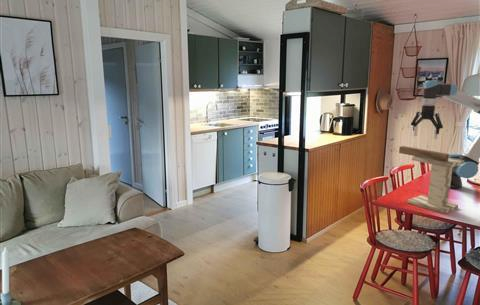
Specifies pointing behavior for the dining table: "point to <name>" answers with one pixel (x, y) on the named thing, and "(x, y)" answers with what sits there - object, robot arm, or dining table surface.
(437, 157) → the brown block
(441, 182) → the shelf stand
